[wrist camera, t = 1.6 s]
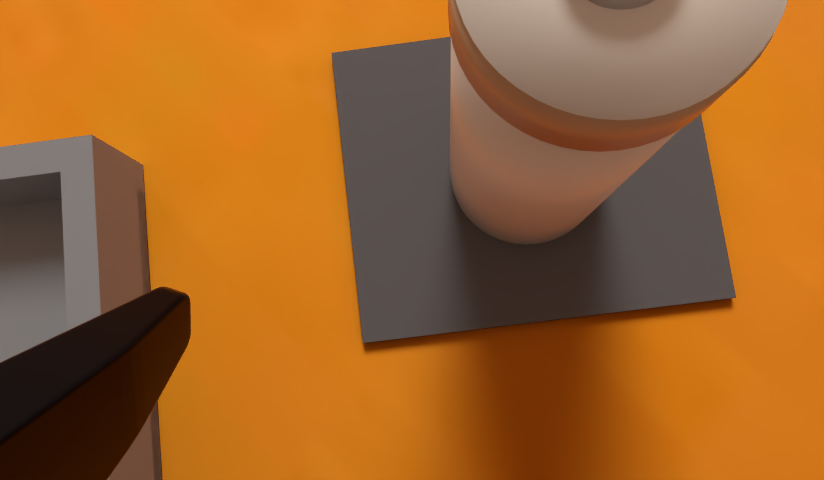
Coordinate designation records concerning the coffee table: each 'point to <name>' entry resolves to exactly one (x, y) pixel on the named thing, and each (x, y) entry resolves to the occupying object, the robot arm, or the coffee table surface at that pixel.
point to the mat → (492, 258)
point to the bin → (73, 253)
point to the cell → (581, 97)
